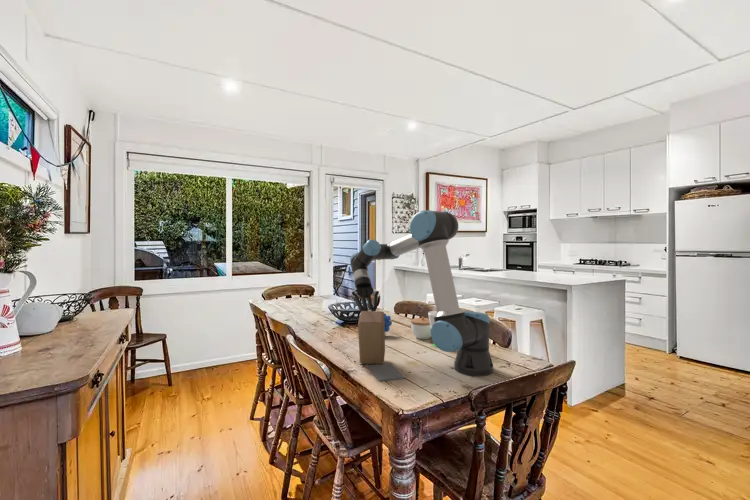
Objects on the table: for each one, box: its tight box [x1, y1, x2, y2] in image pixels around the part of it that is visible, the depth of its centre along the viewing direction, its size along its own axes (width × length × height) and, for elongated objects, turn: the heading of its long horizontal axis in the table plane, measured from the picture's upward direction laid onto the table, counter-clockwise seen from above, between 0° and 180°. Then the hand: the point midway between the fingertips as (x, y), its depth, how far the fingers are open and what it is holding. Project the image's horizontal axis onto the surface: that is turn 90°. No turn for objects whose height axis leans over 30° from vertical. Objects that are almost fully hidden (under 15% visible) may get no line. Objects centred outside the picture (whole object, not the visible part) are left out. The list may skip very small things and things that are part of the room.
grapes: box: [384, 313, 393, 333], centre depth 200 cm, size 12×7×12 cm, turn 111°
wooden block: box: [357, 310, 386, 365], centre depth 154 cm, size 10×10×20 cm
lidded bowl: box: [410, 316, 431, 340], centre depth 196 cm, size 13×13×11 cm
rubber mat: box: [367, 363, 406, 382], centre depth 144 cm, size 16×10×1 cm, turn 16°
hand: (371, 324), depth 158 cm, fingers closed
